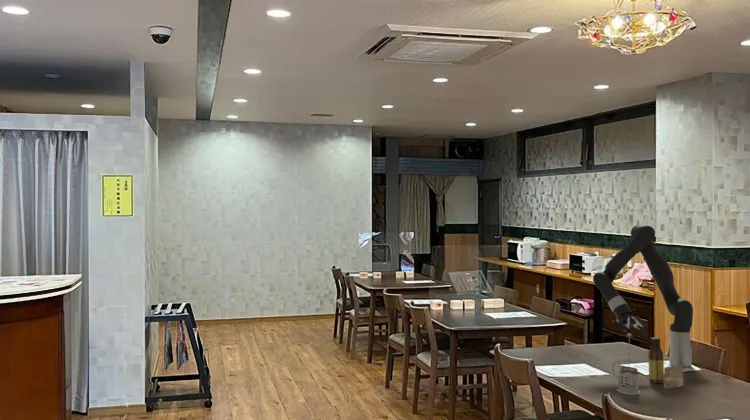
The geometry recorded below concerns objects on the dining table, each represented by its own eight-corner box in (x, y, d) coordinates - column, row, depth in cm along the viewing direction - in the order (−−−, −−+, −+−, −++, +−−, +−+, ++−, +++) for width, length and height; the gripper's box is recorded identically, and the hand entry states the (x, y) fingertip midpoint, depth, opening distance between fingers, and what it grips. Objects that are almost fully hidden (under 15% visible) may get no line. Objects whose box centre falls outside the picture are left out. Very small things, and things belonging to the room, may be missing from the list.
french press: (638, 396, 269) (639, 336, 269) (609, 391, 275) (610, 333, 275) (642, 390, 278) (643, 332, 277) (614, 386, 284) (615, 329, 283)
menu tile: (663, 387, 282) (664, 367, 282) (678, 385, 287) (679, 365, 287) (668, 389, 280) (668, 368, 280) (683, 386, 285) (683, 366, 285)
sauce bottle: (663, 380, 293) (663, 337, 293) (664, 384, 287) (665, 340, 287) (647, 379, 295) (648, 336, 295) (648, 382, 290) (649, 338, 289)
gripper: (613, 303, 304) (633, 332, 294) (634, 302, 311) (654, 330, 301) (604, 313, 309) (623, 341, 299) (625, 311, 315) (644, 339, 305)
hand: (639, 335), depth 300 cm, fingers open, 8 cm apart
